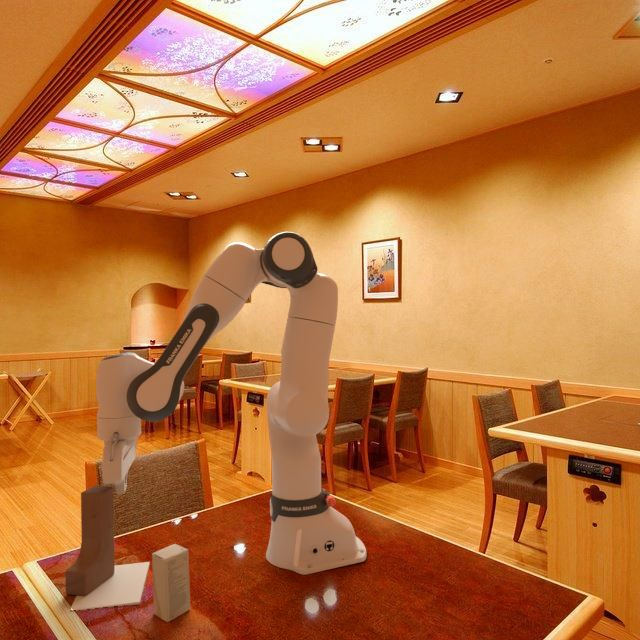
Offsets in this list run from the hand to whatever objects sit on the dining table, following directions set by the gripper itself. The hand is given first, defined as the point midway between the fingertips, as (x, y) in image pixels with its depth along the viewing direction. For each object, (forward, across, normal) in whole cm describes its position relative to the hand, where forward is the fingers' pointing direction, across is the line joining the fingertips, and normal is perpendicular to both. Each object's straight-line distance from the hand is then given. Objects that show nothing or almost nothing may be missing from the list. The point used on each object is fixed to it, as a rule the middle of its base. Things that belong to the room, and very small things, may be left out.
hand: (121, 492), depth 110 cm
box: (+16, -21, -12) cm, 29 cm away
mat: (+15, -9, 0) cm, 18 cm away
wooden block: (+15, -8, +5) cm, 18 cm away
